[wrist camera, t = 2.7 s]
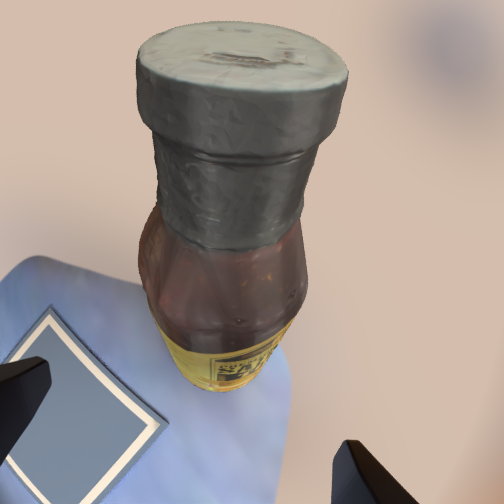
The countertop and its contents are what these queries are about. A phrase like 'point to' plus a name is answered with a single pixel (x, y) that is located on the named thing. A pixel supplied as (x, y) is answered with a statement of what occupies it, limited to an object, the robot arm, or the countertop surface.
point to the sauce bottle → (231, 187)
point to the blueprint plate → (78, 423)
